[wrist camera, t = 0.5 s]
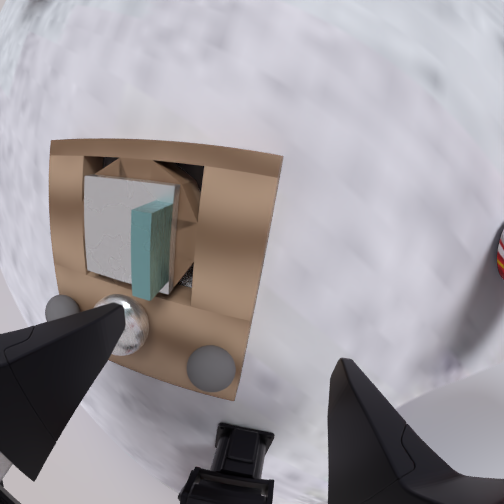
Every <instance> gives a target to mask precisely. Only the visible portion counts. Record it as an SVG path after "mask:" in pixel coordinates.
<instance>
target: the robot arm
mask: <svg viewBox="0 0 504 504" xmlns="http://www.w3.org/2000/svg"><path fill="white" fill-rule="evenodd" d="M125 326H126V321H125V311H124V307H123V305H121V304H118V303H115V302H113V303H109V304H106V305H102V306H99V307H96V308H92V309H89V310H86V311H82V312H79V313H76V314H72V315H69V316H65V317H62V318H59V319H55V320H52V321H48V322H45V323H42V324H38V325H36V326H31V327H28V328H24V329H20V330H17V331H12V332H8V333H3V334H0V504H21V503H20V502H19V501H17V500H16V499H15V498H14V497H13V496H12V495H11V494H10V493H9V492H8V491H7V490H5V489H4V488H3V487H4V486H3V481H2V479H3V477H4V476H5V474H6V473H7V471H8V470H9V468H10V467H11V466H12V464H14V465H15V466H16V467H17V468H18V469H19V470H20V471H21V472H23V473H24V474H25V475H26V476H27V477H29V478H30V479H31V480H32V481H35V480H36V478H37V476H38V474H39V472H40V471H41V469H42V467H43V465H44V463H45V461H46V460H47V457H48V456H49V454H50V452H51V451H52V449H53V447H54V445H55V444H56V441H57V440H58V438H59V437H60V435H61V433H62V431H63V430H64V428H65V426H66V425H67V423H68V421H69V420H70V418H71V417H72V415H73V413H74V412H75V410H76V408H77V407H78V405H79V404H80V402H81V401H82V399H83V397H84V396H85V394H86V393H87V391H88V390H89V388H90V387H91V385H92V384H93V382H94V380H95V379H96V377H97V376H98V374H99V373H100V371H101V370H102V368H103V367H104V365H105V364H106V362H107V361H108V359H109V357H110V356H111V354H112V352H113V350H114V348H115V346H116V344H117V342H118V341H119V339H120V337H121V335H122V333H123V331H124V329H125ZM273 439H274V434H273V433H268V432H262V431H257V430H251V429H246V428H241V427H237V426H232V425H228V424H224V423H220V424H219V426H218V431H217V437H216V444H215V447H216V448H217V449H216V452H215V456H214V459H213V462H212V466H211V469H210V470H206V469H201V468H200V467H195V469H194V470H191V473H190V476H189V479H188V481H187V483H186V484H185V486H184V487H183V489H182V490H181V492H180V493H179V495H178V499H179V501H180V504H272V499H273V488H274V480H271V479H269V480H264V479H261V475H262V469H263V463H264V457H265V454H266V453H267V451H268V449H269V447H270V445H271V443H272V441H273ZM328 459H329V481H328V504H504V479H494V478H493V479H492V478H480V477H471V476H465V475H462V474H459V473H458V472H456V471H455V470H453V469H452V468H451V467H450V466H449V465H447V463H446V462H445V461H443V460H442V459H441V458H440V457H439V456H438V455H437V454H436V453H435V452H434V451H433V450H432V449H431V448H430V447H429V446H428V445H427V444H426V443H425V442H424V441H422V439H421V438H420V437H419V436H418V435H417V434H416V433H415V432H414V430H413V429H412V428H411V427H410V426H409V425H408V424H406V421H405V420H404V419H403V418H402V417H401V416H400V415H399V413H398V412H397V411H396V410H395V409H394V407H393V406H392V405H391V404H390V403H389V402H388V400H387V399H386V398H385V397H384V396H383V395H382V393H381V392H380V391H379V390H378V389H377V388H376V387H375V385H374V384H373V383H372V382H371V381H370V380H369V378H368V377H367V376H366V375H365V374H364V373H363V372H362V370H361V369H360V368H359V367H358V366H357V365H356V363H355V362H354V361H353V360H352V359H348V358H340V359H339V360H338V362H337V364H336V366H335V368H334V370H333V373H332V375H331V378H330V391H329V404H328ZM262 495H264V496H262Z"/></svg>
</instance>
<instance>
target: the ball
mask: <svg viewBox="0 0 504 504" xmlns="http://www.w3.org/2000/svg"><path fill="white" fill-rule="evenodd" d="M113 302H115V303H118V304H121V305H123V307H124V311H125V321H126V326H125V329H124V331H123V333H122V335H121V337H120V339H119V341H118V342H117V344H116V346H115V348H114V350H113V352H112V354H113V355H118V356H125V355H129V354H132V353H134V352H136V351H137V350H139V349H140V348H141V347H142V346H143V344H144V343H145V341H146V339H147V337H148V333H149V321H148V317H147V314H146V312H145V310H144V308H143V307H142V306H141V304H140V303H139V302H138V301H136V300H135V299H133V298H132V297H130V296H127V295H124V294H111V295H108V296H106V297H104V298H102V299H101V300H99V301H98V303H97V304H96V305H95V306H94V308H96V307H99V306H102V305H106V304H109V303H113Z"/></svg>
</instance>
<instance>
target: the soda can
mask: <svg viewBox="0 0 504 504" xmlns="http://www.w3.org/2000/svg"><path fill="white" fill-rule="evenodd" d="M497 265H498V270H499V273H500V275H501V277H502V278H503V279H504V230H503V232H502V235H501V238H500V241H499V246H498V252H497Z"/></svg>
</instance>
